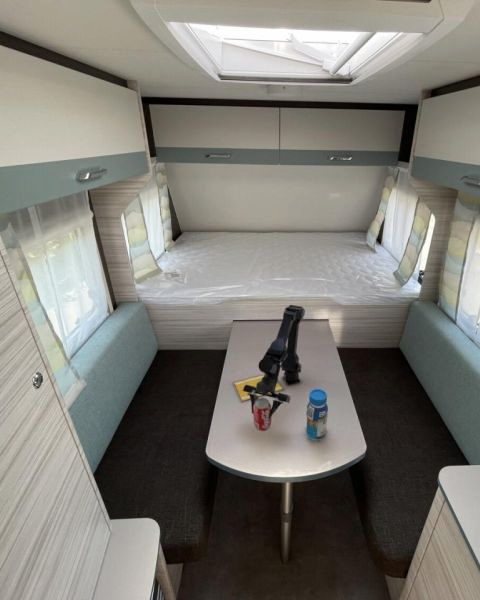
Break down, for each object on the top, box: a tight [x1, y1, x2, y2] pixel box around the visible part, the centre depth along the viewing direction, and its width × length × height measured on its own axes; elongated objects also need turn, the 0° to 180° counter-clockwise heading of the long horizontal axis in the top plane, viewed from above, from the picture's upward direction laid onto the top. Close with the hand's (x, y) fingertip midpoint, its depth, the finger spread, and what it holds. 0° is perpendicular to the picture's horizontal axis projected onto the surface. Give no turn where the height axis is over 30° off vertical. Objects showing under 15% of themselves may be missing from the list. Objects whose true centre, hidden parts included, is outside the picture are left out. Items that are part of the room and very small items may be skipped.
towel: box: [233, 374, 283, 402], centre depth 159 cm, size 20×14×1 cm
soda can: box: [253, 397, 273, 432], centre depth 129 cm, size 7×7×12 cm
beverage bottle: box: [305, 388, 329, 441], centre depth 128 cm, size 8×8×20 cm
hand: (261, 415), depth 128 cm, fingers closed on soda can, 7 cm apart
